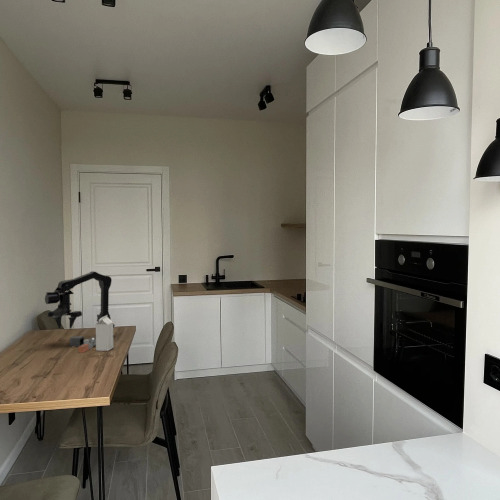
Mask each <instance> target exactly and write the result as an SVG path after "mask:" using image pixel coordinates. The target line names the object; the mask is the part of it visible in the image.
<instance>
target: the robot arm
mask: <svg viewBox="0 0 500 500" xmlns="http://www.w3.org/2000/svg"><path fill="white" fill-rule="evenodd" d="M93 279H94V280H95V281H97V282H98V286H99V289H100V312H99V314H97V315H96V322H97V323H98V322H99V319H101V317H104V316H106V315H107V317H108V318H109V319H110V320H111V321H112V319H111V314H110V313H109V298H110V297H109V296H110V295H109V294H110V291H109V290H110V288H111V285H112V277H111V276H110V275H104V274H101V273H99V272H97V271H94V270H93V271H90V272H87V273H85V274H82V275H80V276H77V277H75V278H70V279H65V280H61V281H59V282H58V285H57V287H56V288H55V290H54V291H47V292H46V293H45V297H44V303H45V304H46V305H51V304H52V305H53V304H57V308H55V309H54V310H51V311H48V312H47V317H49V318H52V319H53V320H54V321H55V322H56V324H57V327H58V329H61V327H62V317H63V316H69V317H68V319H69V329H72V327H73V325H74V323H75V321H76V319H77V318H79V317H82V316H83V312H82V311H81V310H73V311H72V309H71V306H72V303H71V295H74V294H75V293H74V292H73V291H72V289H74V288H75V287H77V286H78V285H81V284H84V283H85V282H87V281H90V280H93ZM58 302H59V304H58ZM114 328H115V324H114V323H113V329H114ZM113 337H115V335H114V334H113Z"/></svg>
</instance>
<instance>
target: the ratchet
mask: <svg viewBox="0 0 500 500" xmlns="http://www.w3.org/2000/svg"><path fill="white" fill-rule="evenodd" d="M94 347H96V336H95V337H94V336H93V337H92V336H91V337H90V338H87V339H84V344H83V345H81V346H79V347H78V353H82V354H83V353H85V352H87V351H89V350H91V349H92V348H94Z"/></svg>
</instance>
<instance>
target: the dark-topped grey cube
mask: <svg viewBox="0 0 500 500" xmlns="http://www.w3.org/2000/svg"><path fill="white" fill-rule="evenodd" d="M84 340H85V336H84V335H74V336H72V337H69V347H72V346H76V347H77V348H79V346H81V345H83V344H84Z"/></svg>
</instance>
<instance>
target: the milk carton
mask: <svg viewBox="0 0 500 500" xmlns="http://www.w3.org/2000/svg"><path fill="white" fill-rule="evenodd" d="M113 324H114V322H113V321H112V319H111V320H110V319H109V318H108V317H107V315H106V316H104V317H101V319H99V322H98V321H97V323H96V324H95V337H96V346H95V350H96V351H97V352H99V351H100V352H101V351H102V352H103V351H104V352H105V351H106V352H108V351H110V350H112V349H114V336H113V335H114V328H113Z"/></svg>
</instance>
